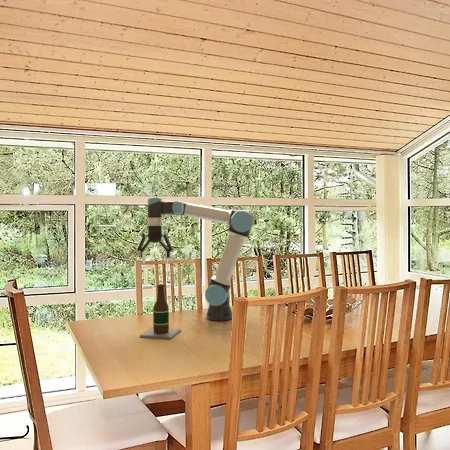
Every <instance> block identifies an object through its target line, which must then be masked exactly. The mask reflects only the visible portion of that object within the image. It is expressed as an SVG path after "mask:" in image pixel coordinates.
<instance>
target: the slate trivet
mask: <svg viewBox="0 0 450 450" xmlns="http://www.w3.org/2000/svg"><path fill="white" fill-rule="evenodd" d="M181 332H182V329H181V328H169V331H168V332H167V333H164V334H156V333H154V329H153V327H150V328H149V329H147V330H146V331H144V332H143V333H141V334H140V335H139V338H144V339H158V340H159V339H161V340H162V339H163V340H172V339H174V337H176V336H177V335H179V334H180V333H181Z"/></svg>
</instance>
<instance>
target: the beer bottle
mask: <svg viewBox="0 0 450 450" xmlns="http://www.w3.org/2000/svg"><path fill="white" fill-rule="evenodd" d="M156 288H157V290H156V291H157V293H156V301H155V302H154V305H153V309H152V314H153V315H152V316H153V317H152V318H153V320H152V322H153V323H152V324H153V327H152V328H153V329H154V333H156V334H164V333H167V332H168V331H169V329H170V316H169V315H170V311H169V310H170V308H169V304H168V303H167V301H166V297H165V284H162V283H160V284H159V283H158V284H157V285H156Z"/></svg>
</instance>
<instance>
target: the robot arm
mask: <svg viewBox="0 0 450 450" xmlns="http://www.w3.org/2000/svg"><path fill="white" fill-rule="evenodd" d="M163 215H176V216H177V215H178V216H184V217H189V218H194V219H200V220H206V221H212V222H215V223H216V222H217V223H221V224H227V226H228V228H227V232H228V234H229V235H228V237H227V240H226V243H225V246H224V248H223V252H222V254H221V257H220V260H219V263H218V265H217V268H216V272H215V273H214V275H213V276H211V278H210V279H209V280H208V286H207V288H206V289H205V292H204V296H205V300H206V302H207V303H208V307H207V311H206V315H205V316H206V317H205V318H206V319H207V320H209V321H215V322H216V321H217V322H218V321H229V320H230V321H231V320H232V319H233V318H232V315H233V311H232V308H231V305H230V289H231V286H232V283H231V278H232V275H233V273H234V270H235V268H236V264H237V261H238V258H239V255H240V254H241V253H240V252H241V249H242V248H243V244H244V242H245V240H246V239H247V238H249V236H250V234H251V230H252V228H253V225H254V221H255V219H254V218H255V217H254V215H253V214H252V213H251V212H250V211H249V210H247V209H230V210H227V209H224V208H223V209H222V208H217V207H213V206H212V207H211V206H205V205H200V204H196V203H195V204H194V203H190V202H185V201H184V202H183V201H182V200H162V197H156V196H155V197H153V196H151V197H149V198H148V199H147V225H148V226H147V234H146V233H143V234H142V236H141V237H142V238H141V240H140V242H139V244H138V246H137V248H136V250H137V252H138V251H139V252H140V258H141V264H146V251H145V250H146V249H147V247H148V246H149V245H150V244H151V243H159V244H160V245H161V247H162V248H163V249H164V251H165V252H164V255H165V256H164V258H165V259H164V261H165V263H164V264H165V265H168V264H169V258H170V257H171V252H173V251H174V248H173V246H172V244H171V242H170V240H169V238H168V234H167V233H164V234H163V231H162V230H163V226H162V224H163V223H162V216H163ZM147 238H148V239H147ZM162 238H163V239H164V241H165V242H164V241H163V239H162ZM146 240H147V241H146ZM145 241H146V242H145Z"/></svg>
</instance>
